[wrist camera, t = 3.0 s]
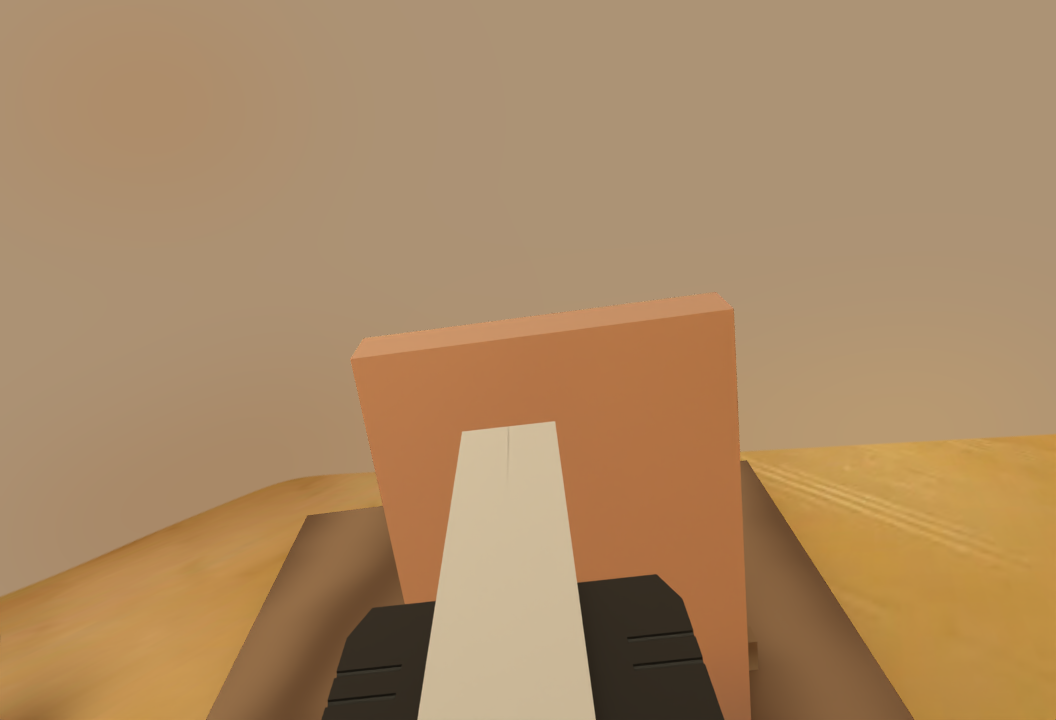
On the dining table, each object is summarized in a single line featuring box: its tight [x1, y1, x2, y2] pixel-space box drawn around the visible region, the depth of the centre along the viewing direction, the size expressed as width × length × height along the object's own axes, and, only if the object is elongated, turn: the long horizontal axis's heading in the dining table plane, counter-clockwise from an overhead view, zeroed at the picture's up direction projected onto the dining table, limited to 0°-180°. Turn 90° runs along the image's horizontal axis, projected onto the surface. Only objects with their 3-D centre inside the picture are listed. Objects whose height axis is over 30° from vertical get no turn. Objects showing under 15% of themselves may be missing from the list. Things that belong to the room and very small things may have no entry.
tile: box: [351, 292, 751, 720], centre depth 23 cm, size 10×2×14 cm, turn 91°
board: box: [206, 460, 914, 720], centre depth 31 cm, size 24×21×2 cm
